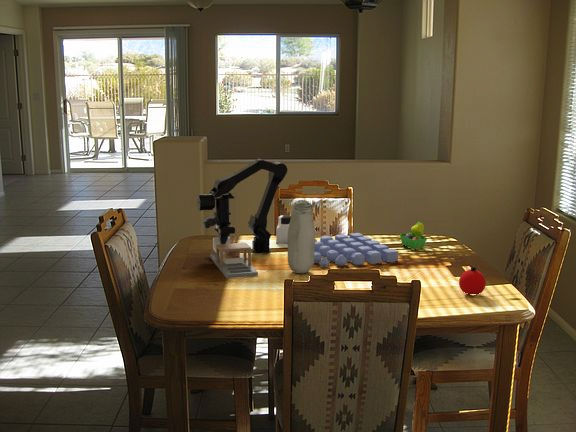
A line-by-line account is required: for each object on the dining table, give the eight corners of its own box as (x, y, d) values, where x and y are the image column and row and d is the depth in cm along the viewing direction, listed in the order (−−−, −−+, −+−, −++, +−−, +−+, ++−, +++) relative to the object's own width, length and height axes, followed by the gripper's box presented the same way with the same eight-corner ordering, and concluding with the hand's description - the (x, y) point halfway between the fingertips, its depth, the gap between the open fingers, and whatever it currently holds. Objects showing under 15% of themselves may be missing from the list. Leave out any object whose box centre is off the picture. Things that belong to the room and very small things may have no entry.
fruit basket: (398, 245, 297) (399, 220, 295) (414, 243, 301) (415, 219, 298) (413, 251, 287) (414, 226, 285) (429, 249, 291) (431, 224, 288)
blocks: (398, 263, 270) (398, 251, 269) (320, 270, 258) (321, 258, 257) (358, 243, 302) (358, 232, 301) (288, 249, 290) (288, 238, 289)
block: (236, 256, 265) (236, 246, 264) (239, 259, 260) (239, 249, 259) (224, 257, 263) (224, 247, 262) (227, 260, 258) (227, 250, 258)
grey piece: (238, 255, 276) (238, 235, 275) (257, 275, 249) (257, 254, 247) (210, 257, 273) (210, 237, 271) (226, 278, 245) (226, 256, 243)
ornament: (464, 289, 236) (466, 262, 233) (489, 294, 230) (491, 266, 228) (453, 295, 229) (455, 267, 227) (478, 301, 223) (480, 272, 221)
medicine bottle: (293, 240, 304) (293, 214, 302) (291, 243, 297) (292, 217, 295) (277, 239, 305) (278, 214, 303) (276, 243, 298) (276, 217, 296)
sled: (229, 248, 281) (229, 236, 280) (243, 263, 259) (243, 250, 258) (213, 249, 279) (212, 237, 278) (225, 264, 257) (225, 251, 256)
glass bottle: (311, 277, 248) (313, 203, 242) (285, 275, 250) (285, 202, 244) (315, 269, 258) (317, 198, 252) (290, 267, 260) (291, 197, 254)
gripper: (198, 206, 280) (199, 242, 283) (208, 214, 262) (208, 253, 266) (224, 204, 283) (225, 240, 286) (235, 213, 266) (235, 251, 269)
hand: (222, 246), depth 277 cm, fingers closed
